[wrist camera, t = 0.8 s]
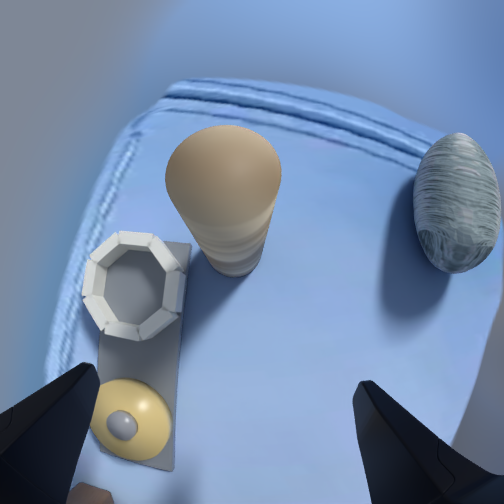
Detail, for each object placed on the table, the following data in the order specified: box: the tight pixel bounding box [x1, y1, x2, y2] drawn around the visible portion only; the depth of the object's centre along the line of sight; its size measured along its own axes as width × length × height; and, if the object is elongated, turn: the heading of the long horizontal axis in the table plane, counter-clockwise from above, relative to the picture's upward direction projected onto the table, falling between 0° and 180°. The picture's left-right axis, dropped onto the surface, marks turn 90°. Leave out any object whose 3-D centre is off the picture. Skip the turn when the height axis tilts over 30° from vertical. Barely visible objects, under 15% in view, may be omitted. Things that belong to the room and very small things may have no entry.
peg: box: [165, 125, 281, 277], centre depth 17 cm, size 4×4×13 cm
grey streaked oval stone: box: [413, 133, 501, 274], centre depth 21 cm, size 14×10×10 cm
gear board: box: [82, 231, 192, 472], centre depth 19 cm, size 20×8×4 cm, turn 175°
